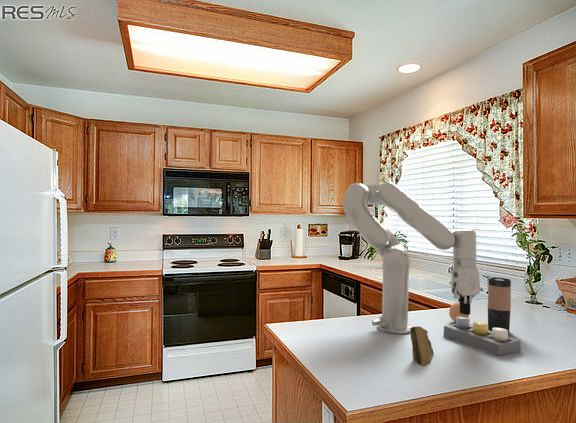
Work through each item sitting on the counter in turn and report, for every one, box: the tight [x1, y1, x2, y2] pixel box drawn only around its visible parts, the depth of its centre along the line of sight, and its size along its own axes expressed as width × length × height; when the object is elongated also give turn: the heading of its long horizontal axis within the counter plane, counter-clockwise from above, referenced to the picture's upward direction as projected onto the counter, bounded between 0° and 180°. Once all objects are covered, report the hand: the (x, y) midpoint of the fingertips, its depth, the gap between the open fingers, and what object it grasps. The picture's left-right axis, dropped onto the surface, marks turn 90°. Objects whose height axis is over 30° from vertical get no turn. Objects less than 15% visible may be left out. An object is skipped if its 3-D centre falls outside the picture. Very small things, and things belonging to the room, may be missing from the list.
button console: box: [443, 323, 522, 357], centre depth 127 cm, size 11×21×4 cm, turn 27°
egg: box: [448, 301, 470, 323], centre depth 150 cm, size 7×7×8 cm
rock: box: [410, 325, 435, 367], centre depth 111 cm, size 11×9×10 cm
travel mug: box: [487, 276, 512, 334], centre depth 142 cm, size 8×8×20 cm
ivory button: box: [492, 328, 509, 342], centre depth 120 cm, size 4×4×3 cm
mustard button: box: [472, 321, 488, 335], centre depth 127 cm, size 4×4×3 cm
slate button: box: [455, 317, 470, 329], centre depth 133 cm, size 4×4×3 cm
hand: (465, 313), depth 133 cm, fingers closed
